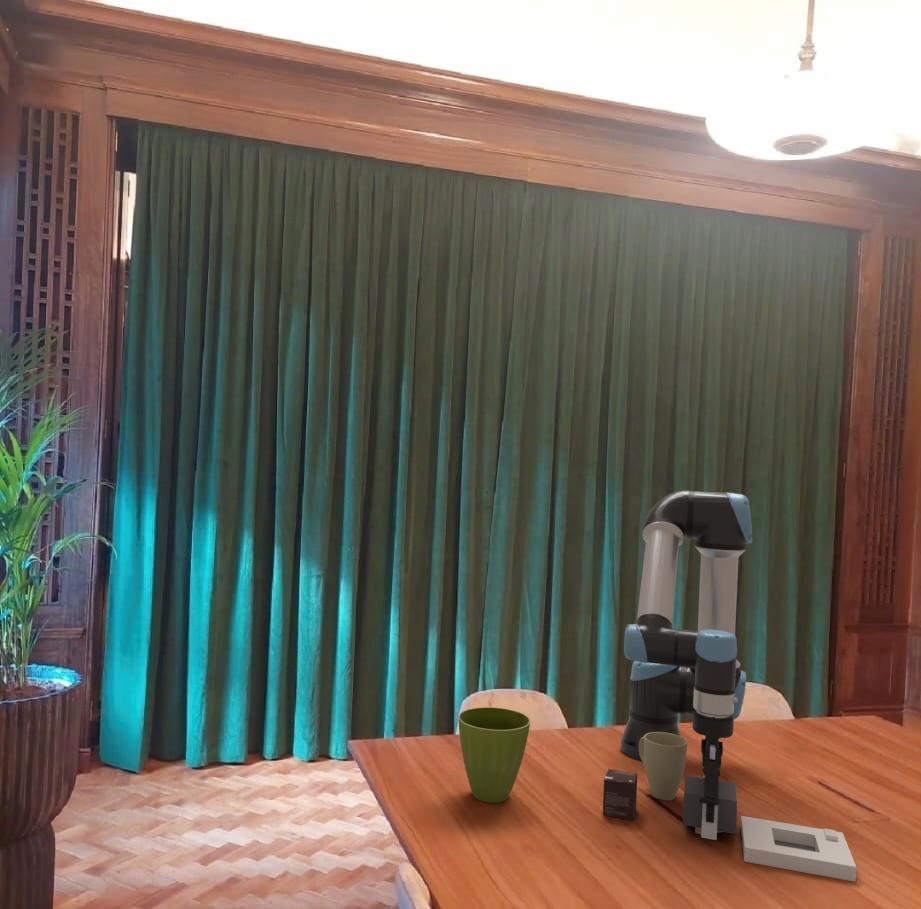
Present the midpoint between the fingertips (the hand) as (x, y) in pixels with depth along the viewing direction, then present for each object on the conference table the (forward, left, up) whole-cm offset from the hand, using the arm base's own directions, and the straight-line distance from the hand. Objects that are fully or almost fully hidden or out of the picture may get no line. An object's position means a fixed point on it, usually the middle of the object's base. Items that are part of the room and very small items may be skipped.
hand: (708, 823), depth 153 cm
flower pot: (-43, -2, -1) cm, 43 cm away
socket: (+15, -4, -1) cm, 16 cm away
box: (-17, +1, -2) cm, 17 cm away
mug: (-10, +14, -1) cm, 17 cm away
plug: (0, 0, -1) cm, 1 cm away
